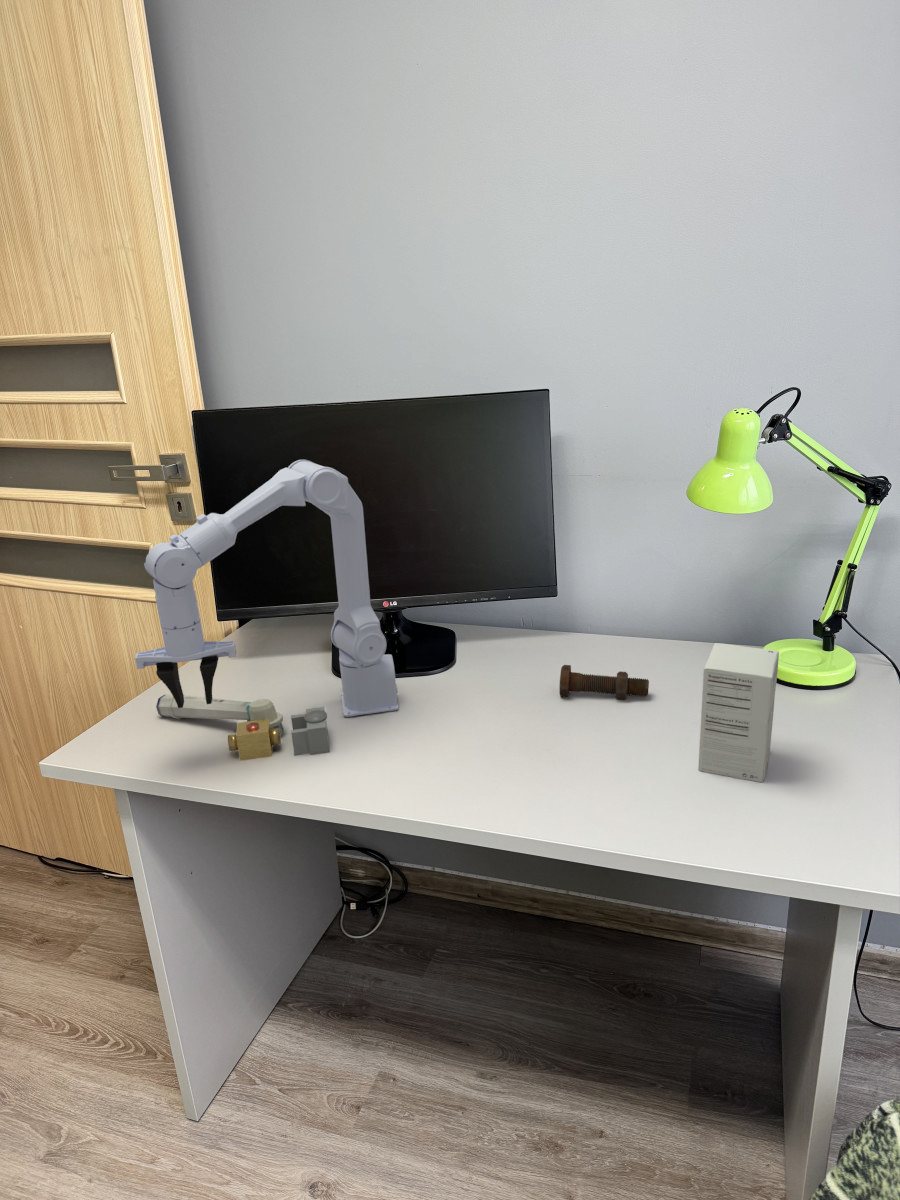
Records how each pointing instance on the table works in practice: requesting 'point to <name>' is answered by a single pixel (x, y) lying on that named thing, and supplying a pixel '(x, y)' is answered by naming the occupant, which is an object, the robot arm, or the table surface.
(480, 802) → the table surface
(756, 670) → the supplement box
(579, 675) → the bolt
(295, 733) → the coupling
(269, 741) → the valve
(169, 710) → the toothbrush head
